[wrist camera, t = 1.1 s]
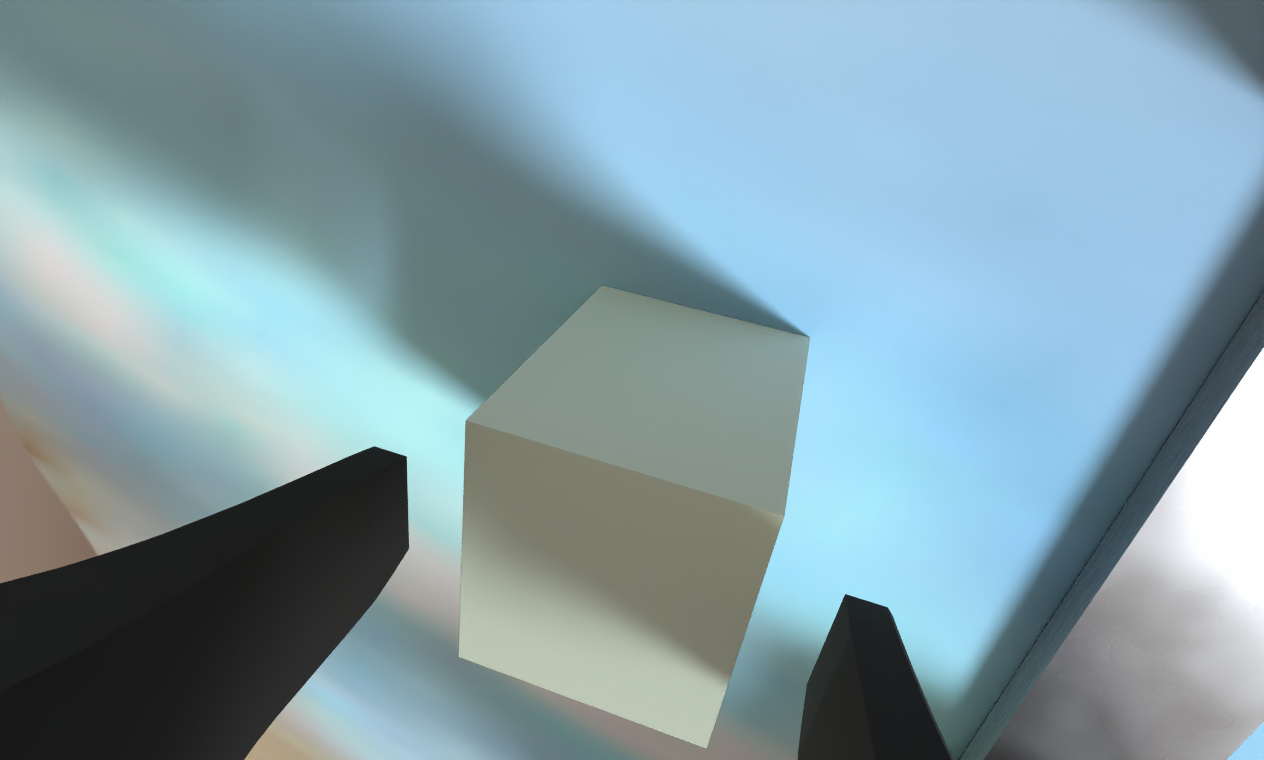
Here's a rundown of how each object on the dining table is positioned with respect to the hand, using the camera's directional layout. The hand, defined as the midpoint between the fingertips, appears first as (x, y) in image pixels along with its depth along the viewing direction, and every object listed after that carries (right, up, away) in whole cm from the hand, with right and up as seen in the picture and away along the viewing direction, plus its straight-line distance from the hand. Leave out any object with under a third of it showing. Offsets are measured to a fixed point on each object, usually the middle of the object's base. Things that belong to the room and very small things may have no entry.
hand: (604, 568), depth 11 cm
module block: (+2, +2, +5) cm, 5 cm away
